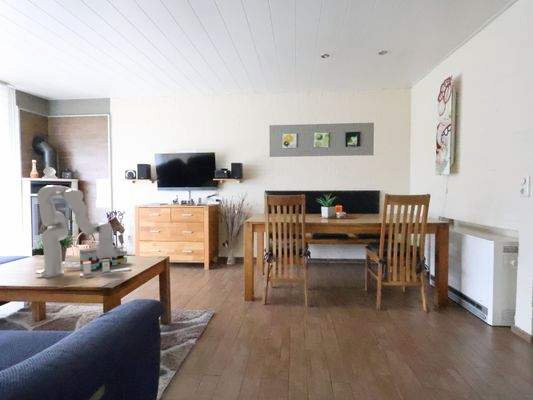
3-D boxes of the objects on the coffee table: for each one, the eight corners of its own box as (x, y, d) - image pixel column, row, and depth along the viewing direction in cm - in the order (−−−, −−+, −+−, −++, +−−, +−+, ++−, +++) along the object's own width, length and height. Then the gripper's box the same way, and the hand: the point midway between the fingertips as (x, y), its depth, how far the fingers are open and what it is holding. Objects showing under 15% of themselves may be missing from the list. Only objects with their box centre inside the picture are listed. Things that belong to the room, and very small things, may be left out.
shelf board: (80, 279, 193) (80, 276, 193) (79, 275, 203) (79, 272, 203) (131, 272, 209) (131, 269, 209) (128, 268, 219) (128, 266, 218)
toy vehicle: (127, 264, 233) (127, 244, 233) (85, 272, 209) (84, 251, 209) (122, 262, 238) (122, 243, 238) (80, 270, 214) (79, 249, 214)
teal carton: (102, 273, 202) (102, 261, 202) (101, 271, 208) (101, 260, 208) (110, 272, 205) (109, 260, 204) (109, 270, 210) (108, 259, 210)
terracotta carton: (83, 276, 196) (82, 264, 196) (83, 274, 202) (82, 262, 202) (91, 275, 199) (91, 263, 199) (90, 273, 204) (90, 261, 204)
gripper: (118, 239, 213) (118, 265, 214) (90, 241, 204) (91, 268, 205) (119, 240, 207) (120, 267, 208) (90, 243, 198) (91, 270, 199)
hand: (105, 267), depth 206 cm, fingers open, 5 cm apart
